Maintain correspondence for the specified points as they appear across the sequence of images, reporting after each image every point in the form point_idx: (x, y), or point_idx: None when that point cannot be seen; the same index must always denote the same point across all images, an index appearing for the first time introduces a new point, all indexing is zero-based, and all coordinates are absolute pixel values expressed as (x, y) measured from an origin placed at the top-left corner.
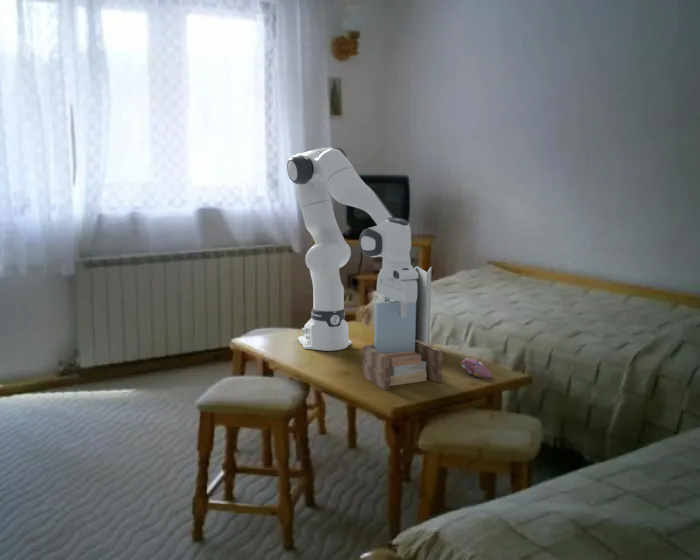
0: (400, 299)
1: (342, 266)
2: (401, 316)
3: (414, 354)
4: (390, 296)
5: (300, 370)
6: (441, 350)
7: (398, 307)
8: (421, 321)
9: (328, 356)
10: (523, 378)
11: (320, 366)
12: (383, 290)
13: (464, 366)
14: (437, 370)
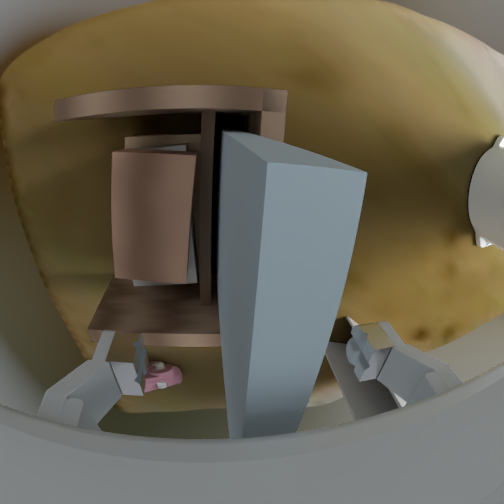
0: (14, 440)
1: None
2: (116, 332)
3: (137, 265)
4: (302, 458)
5: (387, 5)
6: (97, 341)
7: (236, 398)
8: (380, 402)
9: (452, 140)
10: (114, 405)
11: (399, 63)
12: (477, 433)
13: (157, 366)
14: (107, 291)
